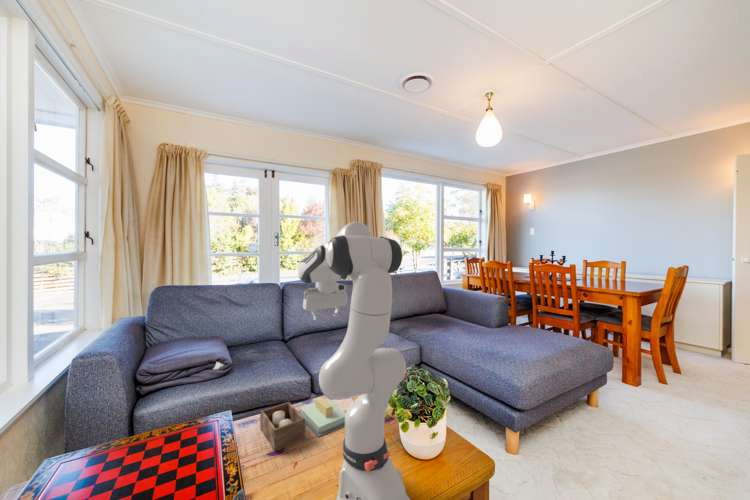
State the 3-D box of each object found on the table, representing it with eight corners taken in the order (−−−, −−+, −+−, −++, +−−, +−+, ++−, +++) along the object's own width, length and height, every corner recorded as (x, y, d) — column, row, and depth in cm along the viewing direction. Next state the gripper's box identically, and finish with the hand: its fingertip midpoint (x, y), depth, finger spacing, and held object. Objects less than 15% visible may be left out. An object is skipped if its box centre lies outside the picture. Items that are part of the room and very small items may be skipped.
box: (305, 438, 107) (304, 418, 106) (274, 451, 100) (274, 430, 100) (288, 419, 118) (288, 401, 118) (260, 429, 112) (260, 411, 112)
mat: (353, 422, 116) (353, 421, 116) (318, 437, 107) (318, 436, 107) (328, 401, 132) (328, 400, 132) (295, 412, 123) (295, 412, 123)
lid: (348, 420, 117) (348, 406, 117) (319, 433, 109) (318, 417, 109) (327, 402, 130) (327, 389, 130) (299, 412, 122) (299, 399, 122)
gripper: (306, 289, 120) (306, 323, 121) (349, 285, 133) (349, 316, 133) (300, 287, 125) (300, 320, 126) (341, 283, 138) (341, 313, 138)
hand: (325, 318), depth 130 cm, fingers open, 8 cm apart
